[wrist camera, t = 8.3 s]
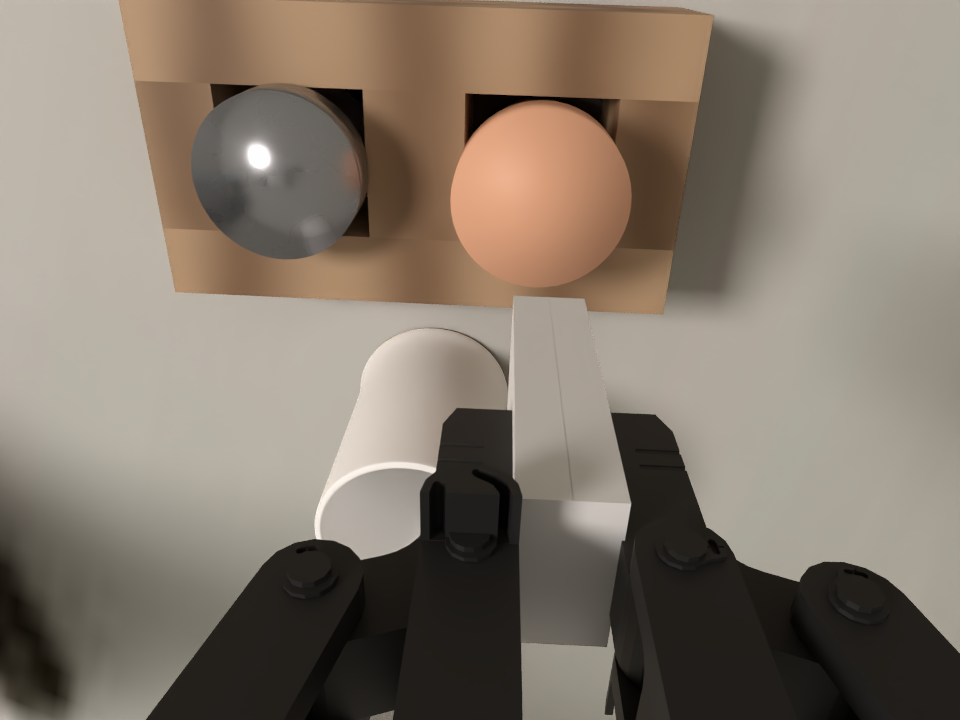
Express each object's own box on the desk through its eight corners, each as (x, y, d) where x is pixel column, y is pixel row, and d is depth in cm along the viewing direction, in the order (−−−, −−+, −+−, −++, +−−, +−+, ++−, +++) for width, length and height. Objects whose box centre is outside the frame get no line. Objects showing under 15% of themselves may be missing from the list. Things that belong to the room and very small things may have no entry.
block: (223, 246, 37) (175, 292, 32) (184, -10, 32) (117, -6, 26) (642, 265, 37) (662, 314, 32) (680, 7, 31) (713, 15, 26)
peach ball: (463, 218, 34) (449, 283, 27) (466, 74, 31) (451, 106, 24) (598, 224, 34) (619, 291, 27) (614, 80, 30) (643, 113, 23)
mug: (575, 342, 39) (596, 478, 29) (552, 465, 43) (562, 623, 33) (362, 318, 39) (306, 446, 29) (360, 444, 43) (309, 596, 33)
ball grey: (266, 199, 36) (205, 255, 28) (250, 61, 32) (176, 87, 25) (394, 204, 35) (363, 263, 28) (389, 67, 32) (354, 94, 25)
